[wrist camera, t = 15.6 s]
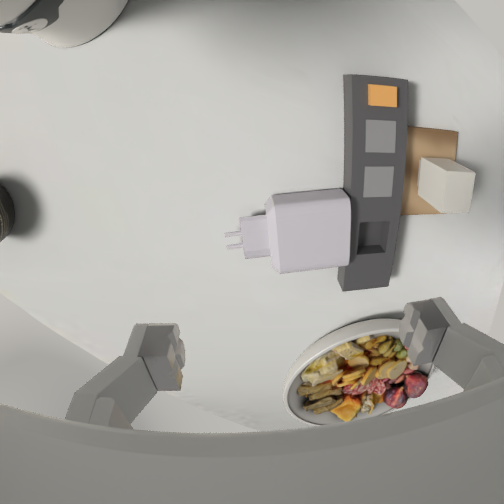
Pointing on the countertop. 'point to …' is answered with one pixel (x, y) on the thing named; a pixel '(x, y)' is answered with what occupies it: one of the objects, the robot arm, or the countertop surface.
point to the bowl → (353, 375)
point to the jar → (5, 213)
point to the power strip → (373, 175)
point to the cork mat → (418, 146)
